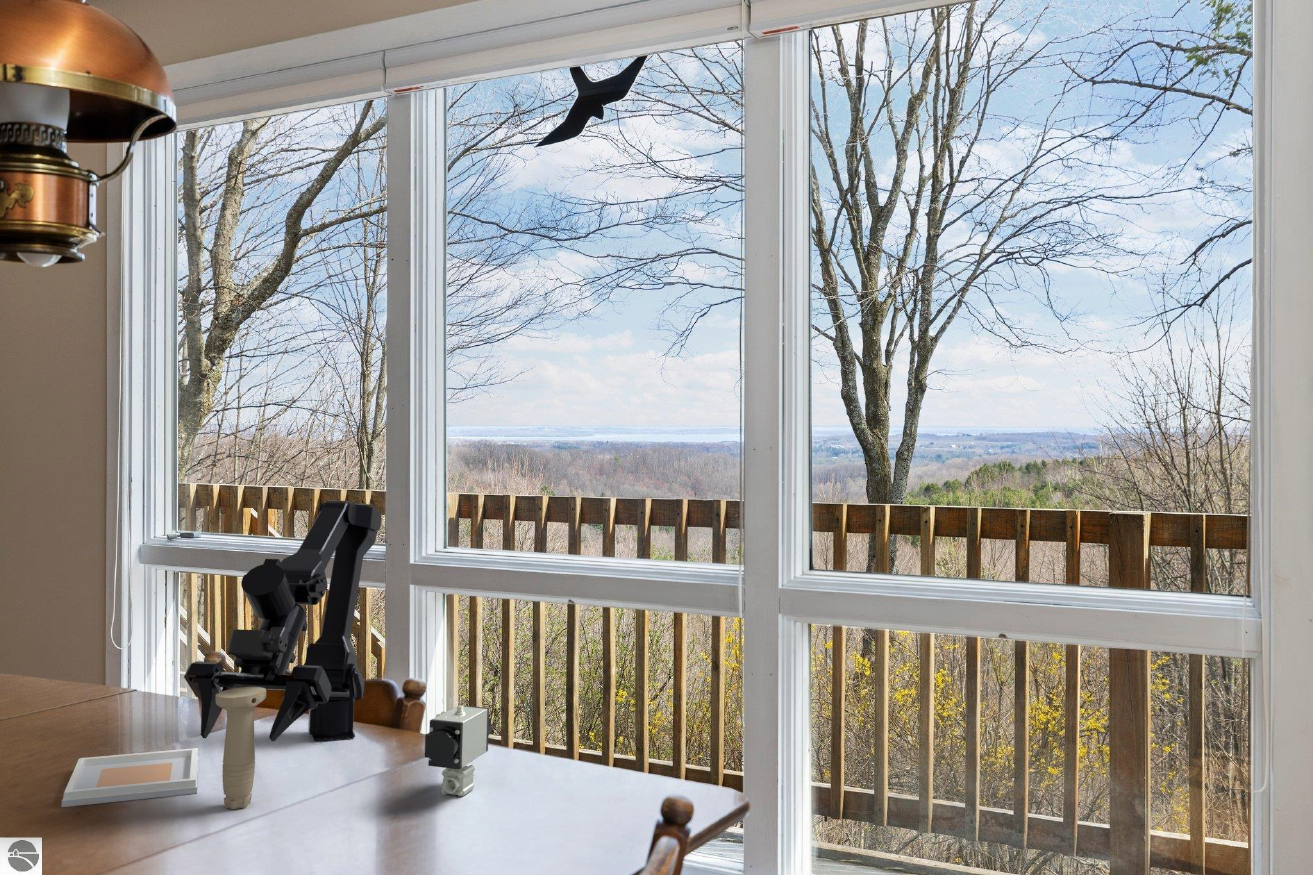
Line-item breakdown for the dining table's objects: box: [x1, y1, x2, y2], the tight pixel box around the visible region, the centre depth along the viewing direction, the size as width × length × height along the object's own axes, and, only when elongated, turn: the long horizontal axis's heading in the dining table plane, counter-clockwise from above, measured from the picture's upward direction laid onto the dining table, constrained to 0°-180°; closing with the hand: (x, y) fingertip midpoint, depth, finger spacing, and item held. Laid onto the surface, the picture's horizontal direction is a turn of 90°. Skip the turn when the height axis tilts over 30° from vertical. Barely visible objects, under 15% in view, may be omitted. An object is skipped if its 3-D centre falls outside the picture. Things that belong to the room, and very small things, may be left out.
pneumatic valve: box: [424, 704, 492, 797], centre depth 139 cm, size 6×12×12 cm, turn 164°
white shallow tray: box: [61, 747, 200, 808], centre depth 140 cm, size 16×16×2 cm
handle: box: [216, 687, 267, 810], centre depth 131 cm, size 5×6×15 cm
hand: (237, 738), depth 131 cm, fingers open, 9 cm apart
